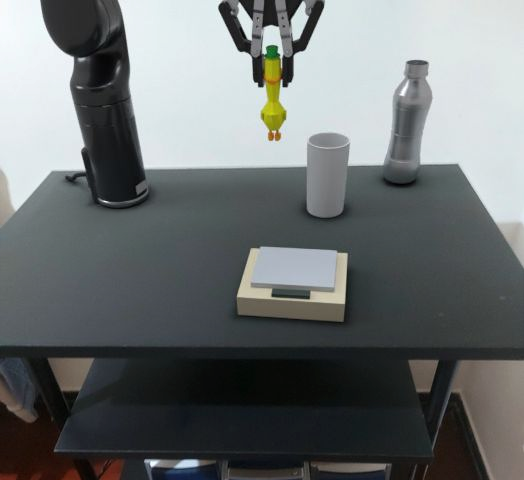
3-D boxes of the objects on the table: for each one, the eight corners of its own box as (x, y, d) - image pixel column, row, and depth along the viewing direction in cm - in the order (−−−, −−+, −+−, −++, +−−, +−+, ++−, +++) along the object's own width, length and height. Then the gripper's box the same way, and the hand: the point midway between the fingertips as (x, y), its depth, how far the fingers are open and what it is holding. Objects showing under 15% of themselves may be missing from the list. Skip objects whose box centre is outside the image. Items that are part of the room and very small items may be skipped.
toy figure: (264, 129, 81) (261, 38, 73) (288, 129, 80) (288, 38, 72) (260, 146, 76) (256, 51, 68) (285, 147, 75) (285, 51, 67)
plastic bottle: (377, 174, 103) (391, 58, 90) (411, 171, 103) (430, 56, 90) (386, 189, 98) (402, 69, 85) (422, 186, 99) (444, 66, 85)
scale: (237, 314, 72) (236, 291, 70) (251, 265, 81) (250, 243, 79) (343, 322, 71) (345, 298, 68) (346, 270, 79) (348, 248, 77)
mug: (341, 220, 90) (347, 149, 82) (302, 217, 91) (303, 146, 83) (348, 193, 97) (354, 125, 89) (311, 190, 99) (314, 123, 91)
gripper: (332, -82, 63) (326, 77, 75) (215, -77, 65) (227, 77, 77) (330, -76, 58) (324, 95, 70) (203, -71, 60) (217, 94, 71)
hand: (273, 85), depth 73 cm, fingers closed on toy figure, 2 cm apart
